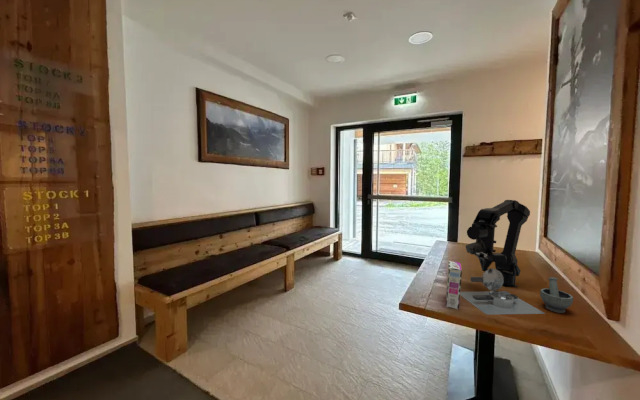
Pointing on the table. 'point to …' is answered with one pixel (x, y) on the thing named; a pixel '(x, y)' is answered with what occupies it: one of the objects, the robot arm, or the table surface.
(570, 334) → the table surface
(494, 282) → the lid
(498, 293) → the cooker pot
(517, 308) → the slate board
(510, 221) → the robot arm
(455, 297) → the candy bar box
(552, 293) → the mortar and pestle
